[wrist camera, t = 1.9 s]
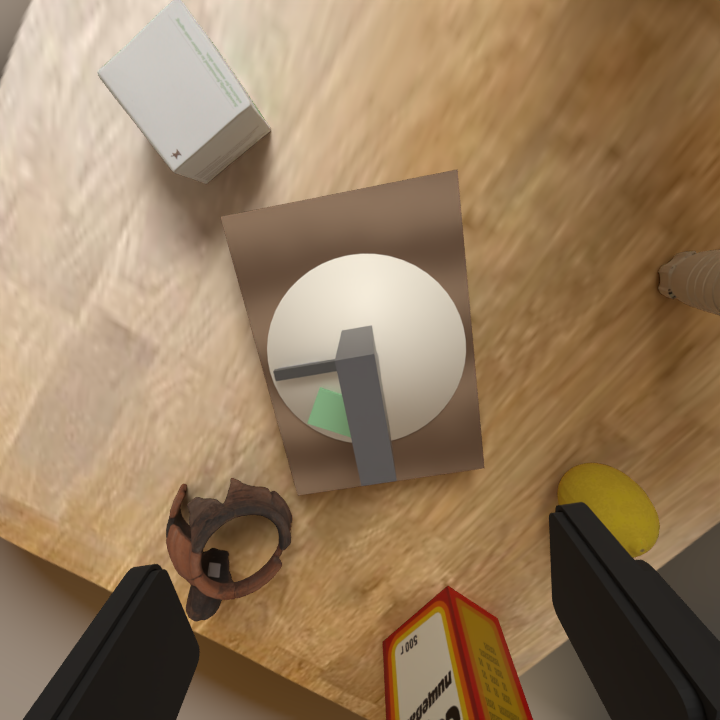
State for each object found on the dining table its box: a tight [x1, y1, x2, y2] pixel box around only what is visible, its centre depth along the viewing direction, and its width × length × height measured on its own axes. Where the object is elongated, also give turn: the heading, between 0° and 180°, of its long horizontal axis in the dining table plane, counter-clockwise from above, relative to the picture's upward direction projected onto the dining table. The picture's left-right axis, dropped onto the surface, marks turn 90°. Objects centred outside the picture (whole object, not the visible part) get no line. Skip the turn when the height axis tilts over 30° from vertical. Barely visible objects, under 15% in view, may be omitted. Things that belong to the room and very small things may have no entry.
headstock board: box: [221, 170, 484, 495], centre depth 26 cm, size 20×14×3 cm
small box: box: [97, 0, 271, 184], centre depth 21 cm, size 6×6×5 cm
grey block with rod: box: [273, 325, 397, 486], centre depth 20 cm, size 6×7×9 cm
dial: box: [267, 254, 466, 443], centre depth 25 cm, size 13×13×1 cm
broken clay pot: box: [166, 478, 292, 621], centre depth 31 cm, size 12×10×8 cm
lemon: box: [557, 463, 660, 558], centre depth 27 cm, size 6×6×8 cm
